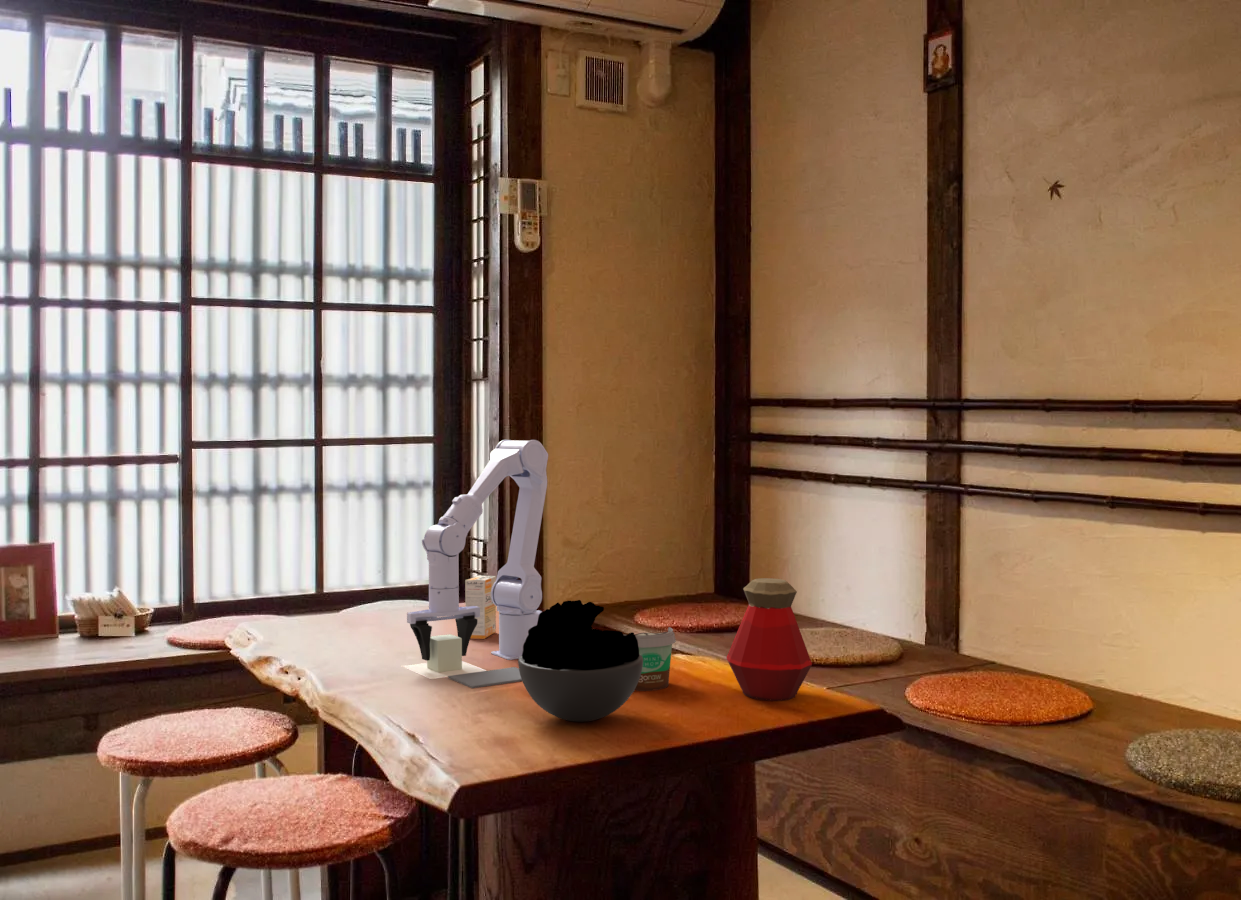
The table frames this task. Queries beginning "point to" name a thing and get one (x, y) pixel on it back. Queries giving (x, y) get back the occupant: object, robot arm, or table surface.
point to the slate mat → (488, 677)
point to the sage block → (445, 653)
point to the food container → (655, 659)
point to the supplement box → (482, 604)
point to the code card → (433, 674)
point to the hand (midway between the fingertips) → (444, 657)
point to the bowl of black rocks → (578, 663)
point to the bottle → (769, 643)
